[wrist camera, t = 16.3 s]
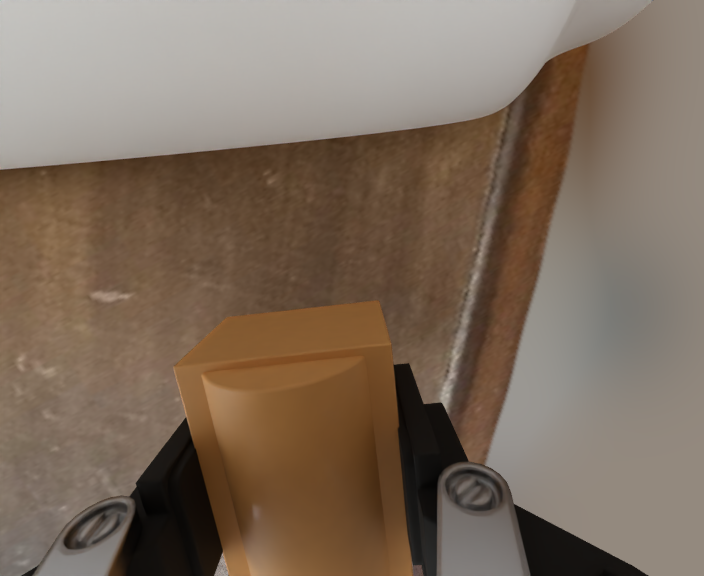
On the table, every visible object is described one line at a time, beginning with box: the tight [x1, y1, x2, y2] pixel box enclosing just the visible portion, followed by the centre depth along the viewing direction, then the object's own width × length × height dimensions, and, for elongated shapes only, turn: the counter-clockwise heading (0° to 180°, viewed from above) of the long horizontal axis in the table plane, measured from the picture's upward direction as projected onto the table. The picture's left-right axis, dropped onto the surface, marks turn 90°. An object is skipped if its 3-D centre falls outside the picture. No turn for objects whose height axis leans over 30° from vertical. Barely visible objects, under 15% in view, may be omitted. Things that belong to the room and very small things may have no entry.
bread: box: [173, 300, 413, 576], centre depth 9 cm, size 7×5×4 cm, turn 7°
